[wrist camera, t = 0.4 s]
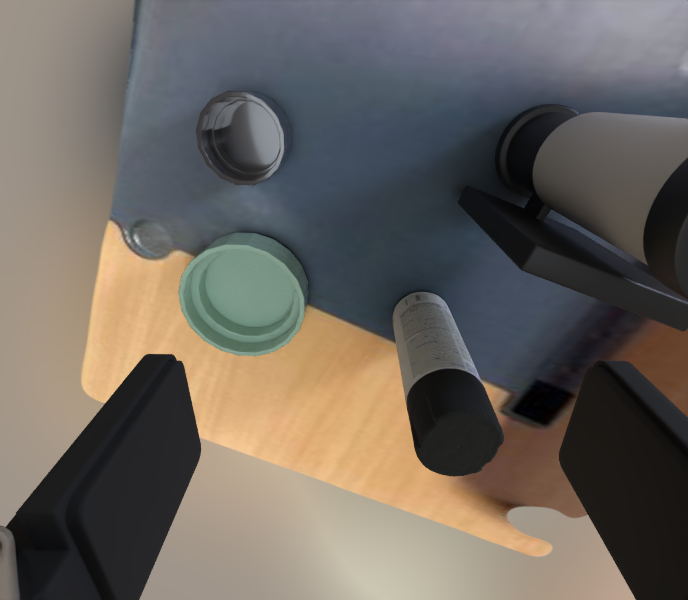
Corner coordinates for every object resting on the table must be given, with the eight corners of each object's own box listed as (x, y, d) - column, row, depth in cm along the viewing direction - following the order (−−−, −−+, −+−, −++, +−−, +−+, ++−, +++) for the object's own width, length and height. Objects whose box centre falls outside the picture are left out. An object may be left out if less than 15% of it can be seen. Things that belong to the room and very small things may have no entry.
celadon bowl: (186, 229, 43) (168, 242, 39) (307, 232, 43) (302, 246, 39) (202, 332, 49) (189, 353, 45) (309, 336, 49) (305, 357, 45)
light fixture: (620, 131, 38) (995, 185, 16) (552, 236, 42) (766, 391, 20) (507, 80, 36) (748, 59, 14) (450, 196, 41) (562, 316, 19)
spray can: (381, 327, 48) (397, 464, 30) (408, 279, 45) (443, 400, 27) (431, 346, 49) (475, 490, 31) (459, 301, 46) (526, 431, 28)
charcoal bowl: (210, 90, 37) (190, 90, 32) (291, 93, 37) (282, 92, 32) (219, 174, 40) (203, 184, 36) (293, 176, 40) (286, 186, 36)
